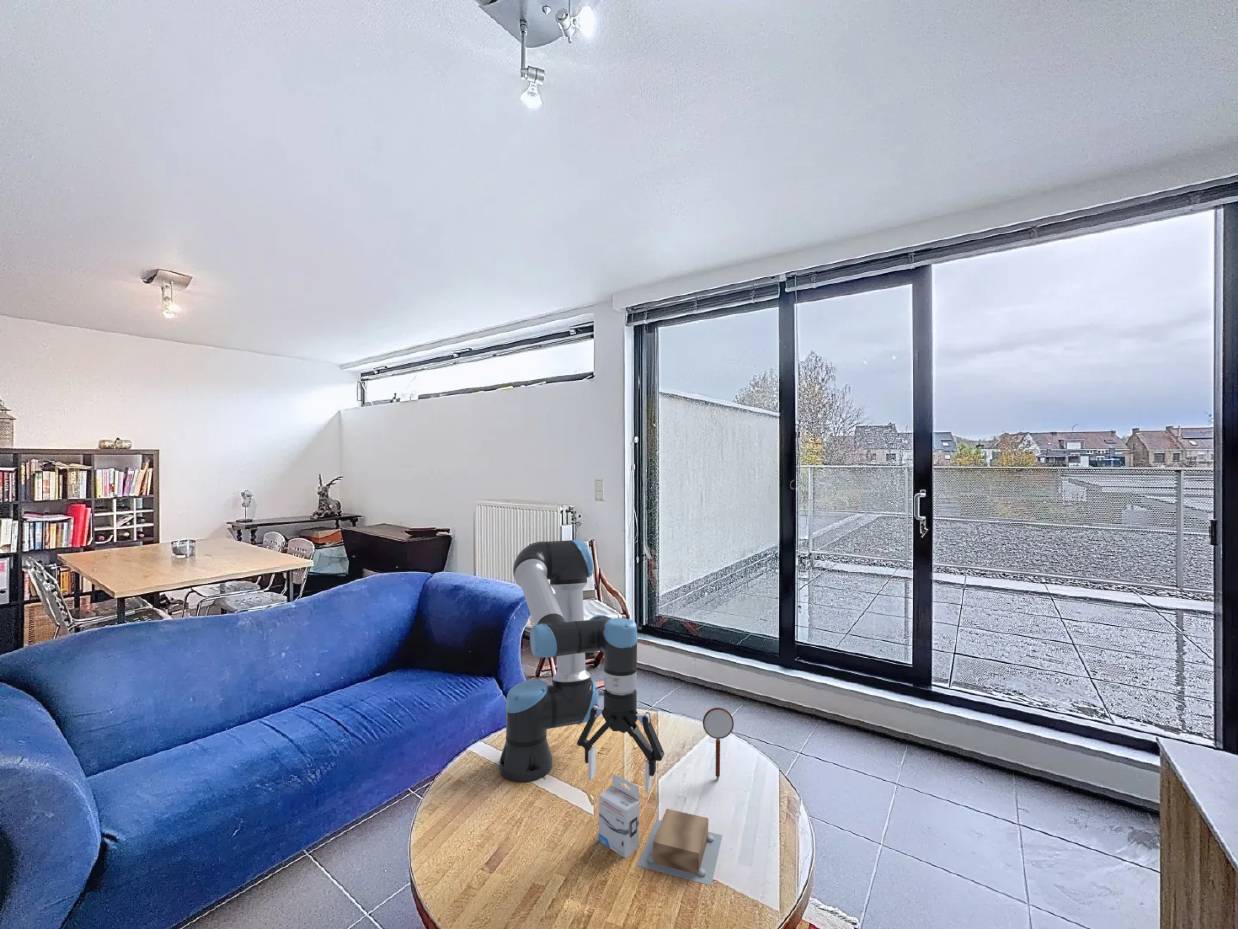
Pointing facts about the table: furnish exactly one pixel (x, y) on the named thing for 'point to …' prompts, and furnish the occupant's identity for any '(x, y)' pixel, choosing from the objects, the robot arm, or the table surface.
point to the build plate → (703, 875)
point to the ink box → (619, 817)
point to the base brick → (681, 841)
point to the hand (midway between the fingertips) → (619, 783)
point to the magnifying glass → (718, 729)
